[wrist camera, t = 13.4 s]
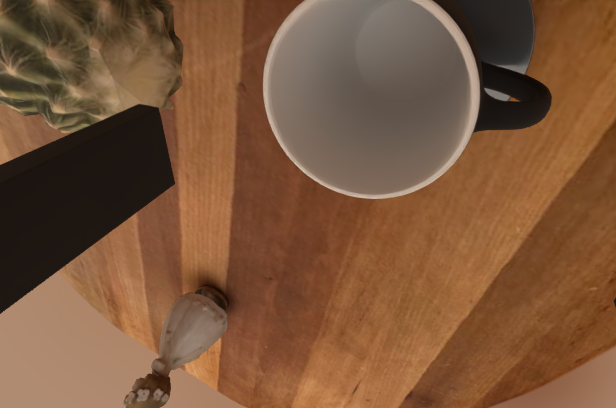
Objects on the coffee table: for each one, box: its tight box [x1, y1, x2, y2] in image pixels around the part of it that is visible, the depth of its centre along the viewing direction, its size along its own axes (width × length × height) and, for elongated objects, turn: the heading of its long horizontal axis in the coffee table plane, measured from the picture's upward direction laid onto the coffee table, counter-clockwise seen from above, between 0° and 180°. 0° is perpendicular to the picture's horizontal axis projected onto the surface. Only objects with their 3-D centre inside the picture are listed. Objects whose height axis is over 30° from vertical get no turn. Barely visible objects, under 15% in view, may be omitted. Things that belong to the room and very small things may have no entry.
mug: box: [263, 0, 552, 199], centre depth 19 cm, size 12×9×10 cm
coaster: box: [455, 0, 535, 101], centre depth 23 cm, size 11×11×1 cm
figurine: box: [123, 286, 229, 408], centre depth 41 cm, size 8×7×15 cm
